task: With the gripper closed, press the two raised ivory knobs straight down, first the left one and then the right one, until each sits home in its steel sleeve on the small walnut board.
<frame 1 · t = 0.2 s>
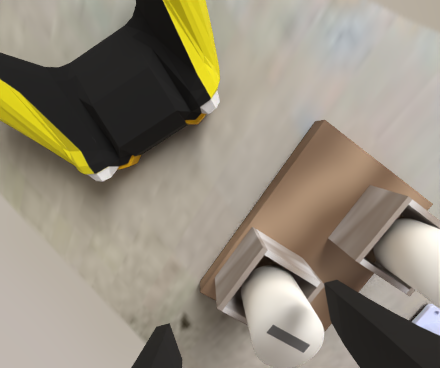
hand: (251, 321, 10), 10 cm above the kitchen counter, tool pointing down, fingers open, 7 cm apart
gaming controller: (131, 87, 17), on the kitchen counter
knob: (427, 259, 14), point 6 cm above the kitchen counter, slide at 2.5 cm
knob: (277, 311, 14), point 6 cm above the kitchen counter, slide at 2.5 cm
knob board: (307, 240, 20), on the kitchen counter
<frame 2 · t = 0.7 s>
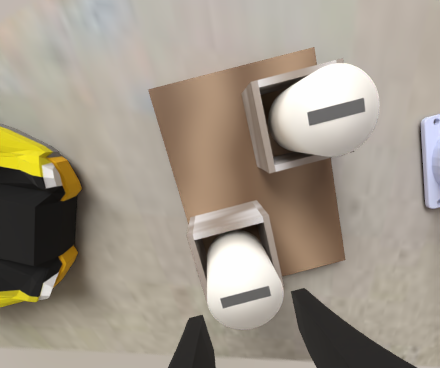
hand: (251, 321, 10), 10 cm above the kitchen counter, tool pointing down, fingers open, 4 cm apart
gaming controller: (22, 210, 19), on the kitchen counter
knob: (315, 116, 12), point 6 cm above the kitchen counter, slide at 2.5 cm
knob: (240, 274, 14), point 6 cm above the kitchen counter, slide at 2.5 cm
knob board: (253, 180, 19), on the kitchen counter
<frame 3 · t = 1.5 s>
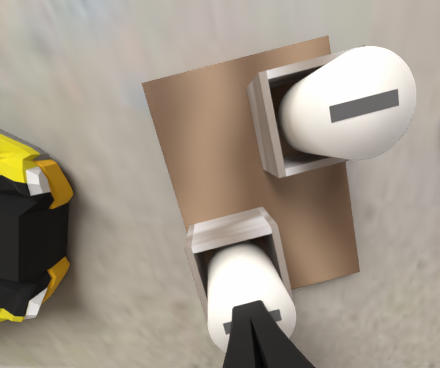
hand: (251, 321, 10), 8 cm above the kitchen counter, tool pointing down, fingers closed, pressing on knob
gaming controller: (9, 217, 17), on the kitchen counter
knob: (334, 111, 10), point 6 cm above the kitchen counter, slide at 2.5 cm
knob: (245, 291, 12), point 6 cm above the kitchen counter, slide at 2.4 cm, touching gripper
knob board: (258, 183, 17), on the kitchen counter
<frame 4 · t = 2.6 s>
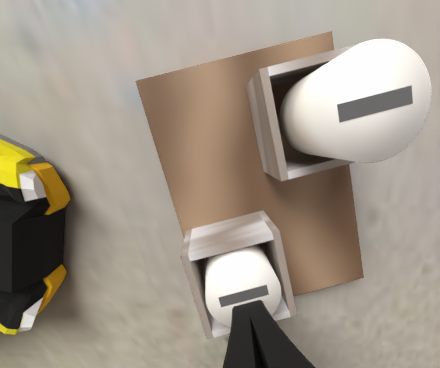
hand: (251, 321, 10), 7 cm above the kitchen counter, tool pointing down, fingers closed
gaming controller: (3, 223, 16), on the kitchen counter
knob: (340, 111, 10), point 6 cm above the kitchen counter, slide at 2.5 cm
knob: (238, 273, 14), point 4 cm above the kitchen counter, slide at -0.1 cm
knob board: (258, 186, 17), on the kitchen counter
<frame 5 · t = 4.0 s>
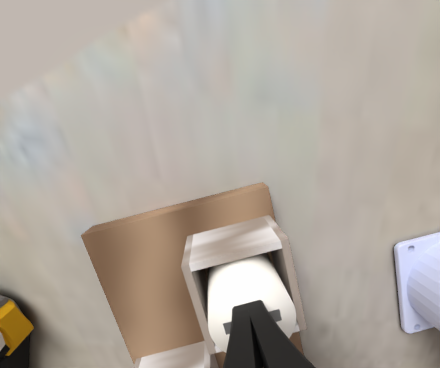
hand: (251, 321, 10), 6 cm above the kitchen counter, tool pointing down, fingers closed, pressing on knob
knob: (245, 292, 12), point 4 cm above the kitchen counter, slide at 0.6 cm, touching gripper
knob board: (209, 307, 17), on the kitchen counter
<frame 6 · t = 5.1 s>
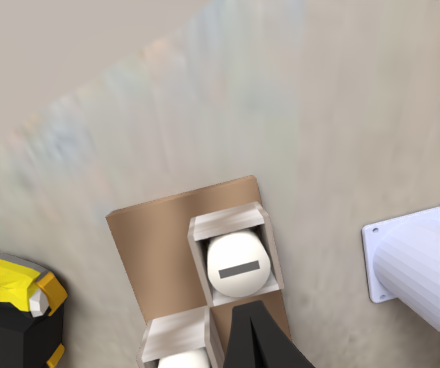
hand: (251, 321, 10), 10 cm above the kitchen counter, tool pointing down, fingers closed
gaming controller: (14, 310, 21), on the kitchen counter
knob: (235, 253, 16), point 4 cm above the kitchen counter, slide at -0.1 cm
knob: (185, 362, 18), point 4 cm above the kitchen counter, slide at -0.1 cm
knob board: (208, 280, 21), on the kitchen counter
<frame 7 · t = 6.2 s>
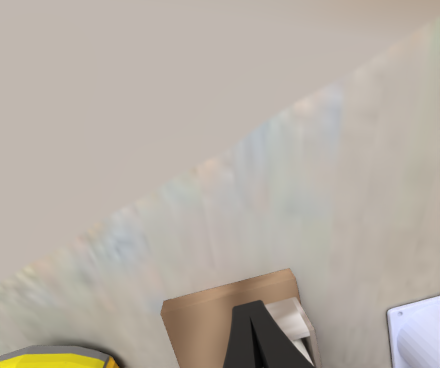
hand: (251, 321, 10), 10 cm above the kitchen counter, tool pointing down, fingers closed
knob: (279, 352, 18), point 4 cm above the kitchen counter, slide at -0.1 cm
knob board: (246, 357, 23), on the kitchen counter
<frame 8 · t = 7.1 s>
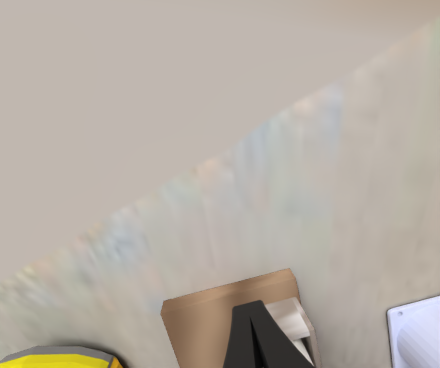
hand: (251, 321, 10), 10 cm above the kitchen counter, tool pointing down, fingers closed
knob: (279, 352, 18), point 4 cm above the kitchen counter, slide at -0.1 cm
knob board: (246, 357, 23), on the kitchen counter
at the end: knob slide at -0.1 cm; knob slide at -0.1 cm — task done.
